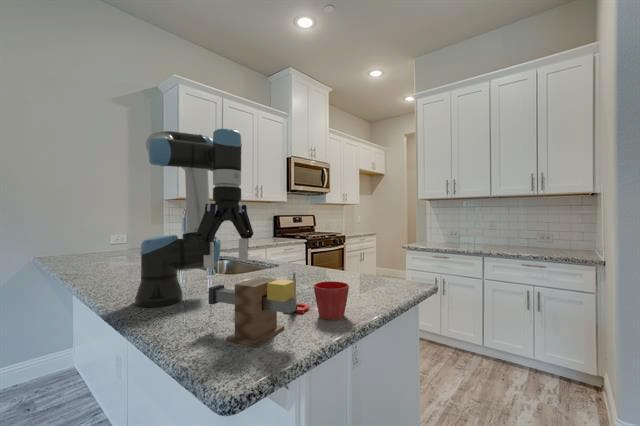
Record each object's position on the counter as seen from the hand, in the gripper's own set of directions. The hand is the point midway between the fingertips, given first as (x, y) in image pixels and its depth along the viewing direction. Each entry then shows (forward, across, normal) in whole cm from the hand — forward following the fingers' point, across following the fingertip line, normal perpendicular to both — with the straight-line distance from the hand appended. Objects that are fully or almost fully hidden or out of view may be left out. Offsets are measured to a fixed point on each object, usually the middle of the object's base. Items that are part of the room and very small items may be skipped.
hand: (227, 264), depth 85 cm
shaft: (+11, 0, -8) cm, 14 cm away
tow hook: (+18, +23, -9) cm, 31 cm away
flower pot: (+18, +22, -22) cm, 36 cm away
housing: (+18, 0, -10) cm, 20 cm away
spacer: (+7, 0, -17) cm, 19 cm away
